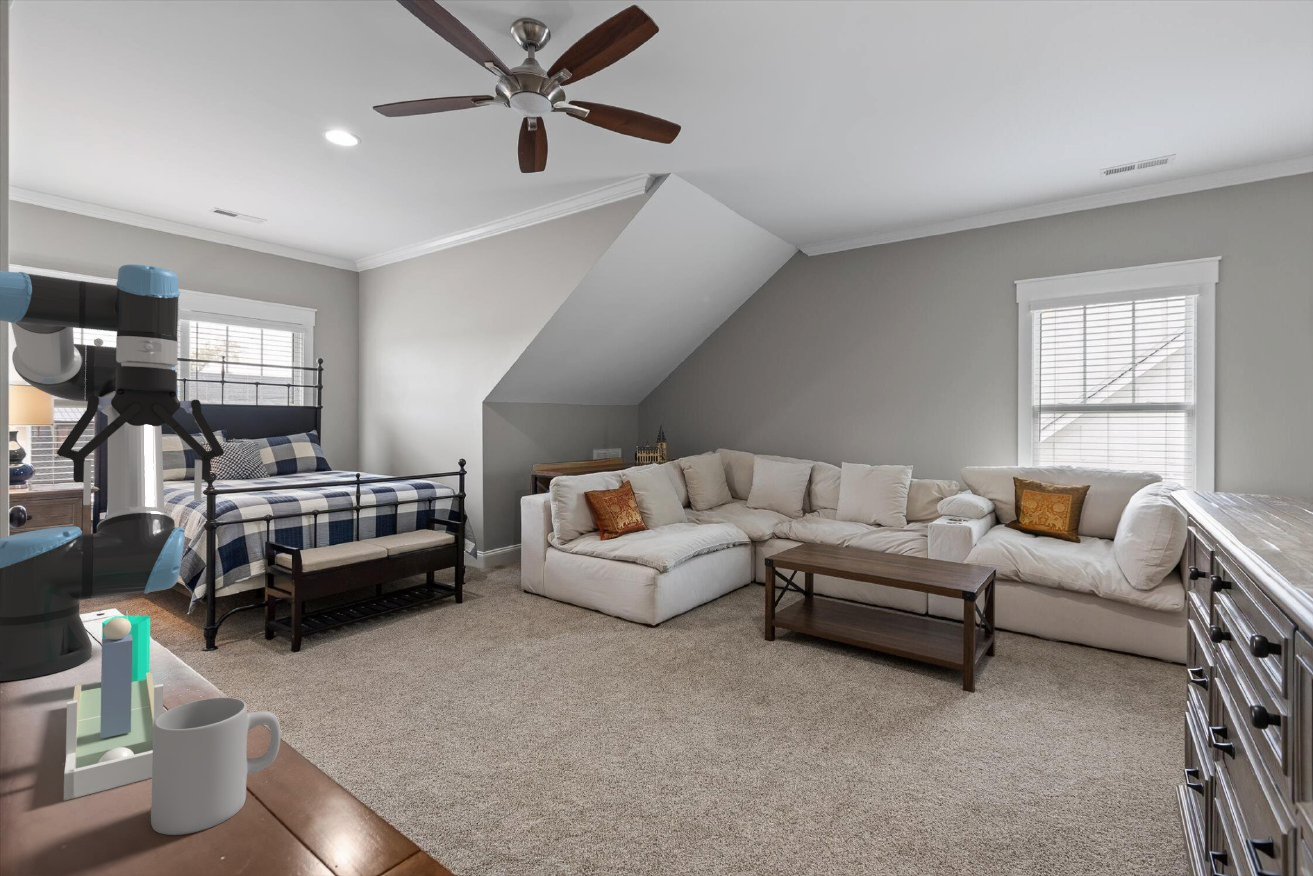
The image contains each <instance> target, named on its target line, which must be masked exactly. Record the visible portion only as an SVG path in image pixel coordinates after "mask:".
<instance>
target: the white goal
mask: <svg viewBox="0 0 1313 876" xmlns="http://www.w3.org/2000/svg"><path fill="white" fill-rule="evenodd" d="M162 713H164V683H160V684H154V721H155V720H156V718H157V717H158V716H160V715H161V714H162ZM153 725H154V724H153ZM65 729H66V733H65V735H66V736H65V737H66V739H65V742H66V743H65V764H64V765H65V766H64V773H63V774H64V775H63V776H64V777H63V801H64V802H65V801H68V800H72V799H73V800H74V799H76V798H80V797H84V796H89V795H91V794H96V793H99V792H102V791H107V790H112V789H115V788H119V787H122V786H126V785H129V784H133V783H136V782H137V783H138V782H141V781H145V780H149V779H152V764H153V750H151V751H147V752H143V753H139V754H135V755H131V756H126V757H122V758H118V759H114V760H110V761H106V762H101V763H97V764H93V765H89V766H85V767H81V768H77V769H76V753H77V700H74V701H73V700H70V701H66V728H65Z"/></svg>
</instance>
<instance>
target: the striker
mask: <svg viewBox="0 0 1313 876" xmlns="http://www.w3.org/2000/svg"><path fill="white" fill-rule="evenodd" d="M130 630H131V623H130V622H129V621H128V620H127V619H125V618H114V619H112V620H110V621H109V622H107V623H106V625H105V626H104V629H103V633H104V635H105V637H106V638H104V639H101V672H100V673H101V674H100V675H101V677H100V678H101V679H100V681H101V683H100V684H101V685H100V688H101V727H100V739H102V738H106V737H111V736H115V735H120V734H124V733H129V732H131V693H132V634H131V635H128V634H129V632H130Z"/></svg>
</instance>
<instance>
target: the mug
mask: <svg viewBox="0 0 1313 876" xmlns="http://www.w3.org/2000/svg"><path fill="white" fill-rule="evenodd" d="M262 725H265V726H268V728H269V731H270V741H269V746H268V748H267V750H266V751H265V753H264V754H262V755H260V756H257V757H255V758H254V757H252V758H248V757H247V744H248V743H247V742H248V734H249V731H250V730H252V729H254V728H256V727H258V726H262ZM280 745H281V726H280V722H279V719H278V717H277V716H276V714H274V712H271V711H267V710H263V711H261V710H260V711H254V712H248V706H247V703H246V701H244V700H242V699H240V698H236V697H212V698H211V697H210V698H203V699H200V700H194V701H189V702H187V703H186V702H185V703H183V704H180V705H177V706H174V707H172V708H170V709H167V710H166V711H163V713H162V714H161V715H160V716H158V717H157V718H156V720H155V721H154V725H153V764H152V778H151V805H150V806H151V807H150V824H151V827H152V829H153V830H154V831H155V832H157V833H158V834H162V835H166V836H167V835H168V836H182V835H188V834H193V833H197V832H202V831H205V830H208V829H211V828H213V827H215V826H218V825H220V824H222V823H224V822H226V821H227V820H229V819H231V818H233V817H234V816H235V815H236V814H238V812H240V810H241V809H242V808H243V807H244V805H245V802H246V800H247V799H246V798H247V777H248V776H250V775H253V774H255V773H258V772H261V771H262V770H264V769H266V768H269V766H270V765H272V764H273V762H274V761H275V760H276V759H277V756H278V755H279V754H278V753H279V751H280V747H281V746H280Z"/></svg>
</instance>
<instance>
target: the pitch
mask: <svg viewBox="0 0 1313 876" xmlns="http://www.w3.org/2000/svg"><path fill="white" fill-rule="evenodd" d="M154 685H155V683H154V677H153V672H152V671H150V672H149V673H146V679H145V680H140V681H134V682H132V693H131V732H129V733H124V734H120V735H115V736H111V737H106V738H102V739H100V727H101V687H96V688H91V689H90V688H89V689H87V690H82V684H77V685H75V686H74V691H73V699H72V701H74V700H77V753H76V769H77V768H81V767H85V766H89V765H93V764H97V763H98V762H99V760H100V758H101V757H102V756H103V755H104V754H105V753H106V752H108V751H110V750H112V749H114V748H118V747H125V748H128V749H130V750H131V751H132V752H133V753H134V755H135V754H139V753H143V752H147V751H151V750H153V724H154Z"/></svg>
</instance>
